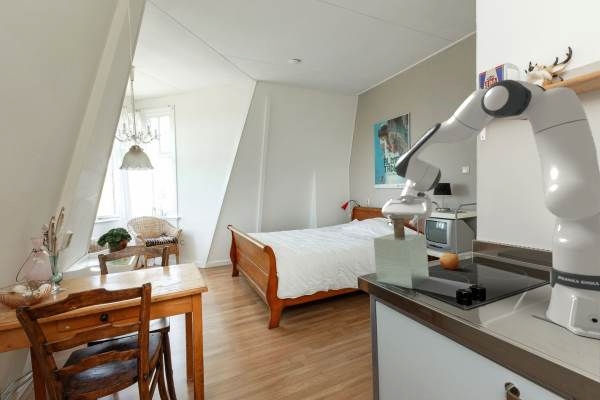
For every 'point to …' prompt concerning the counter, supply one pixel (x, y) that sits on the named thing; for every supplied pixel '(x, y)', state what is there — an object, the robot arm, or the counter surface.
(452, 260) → the fruit
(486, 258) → the counter surface
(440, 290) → the mat
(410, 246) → the cover
